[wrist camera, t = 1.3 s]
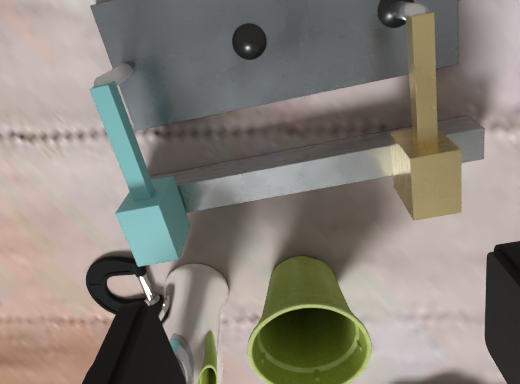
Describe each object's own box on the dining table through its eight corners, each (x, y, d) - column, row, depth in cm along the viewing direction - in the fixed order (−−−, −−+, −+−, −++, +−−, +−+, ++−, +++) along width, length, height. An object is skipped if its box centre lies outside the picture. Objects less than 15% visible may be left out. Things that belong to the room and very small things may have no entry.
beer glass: (181, 323, 42) (140, 482, 29) (147, 272, 40) (84, 421, 26) (244, 304, 41) (232, 461, 28) (214, 249, 38) (184, 394, 25)
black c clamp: (76, 258, 40) (64, 275, 37) (148, 247, 39) (140, 263, 37) (129, 368, 46) (122, 388, 44) (191, 360, 45) (187, 380, 43)
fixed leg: (420, -5, 27) (460, -1, 21) (427, 171, 33) (461, 212, 27) (373, 6, 28) (401, 13, 22) (388, 178, 33) (413, 220, 27)
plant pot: (233, 264, 39) (224, 335, 31) (325, 222, 37) (339, 287, 29) (281, 330, 43) (284, 408, 35) (368, 295, 40) (391, 370, 32)
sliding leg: (143, 58, 29) (111, 78, 24) (194, 213, 35) (178, 259, 29) (103, 67, 30) (62, 89, 24) (159, 219, 35) (138, 266, 29)
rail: (466, 115, 32) (484, 127, 29) (466, 144, 33) (483, 158, 30) (145, 177, 35) (135, 194, 32) (154, 202, 36) (145, 220, 33)
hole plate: (450, -84, 26) (457, -86, 25) (452, 61, 30) (458, 64, 29) (95, 5, 29) (89, 5, 28) (139, 126, 33) (135, 131, 32)
